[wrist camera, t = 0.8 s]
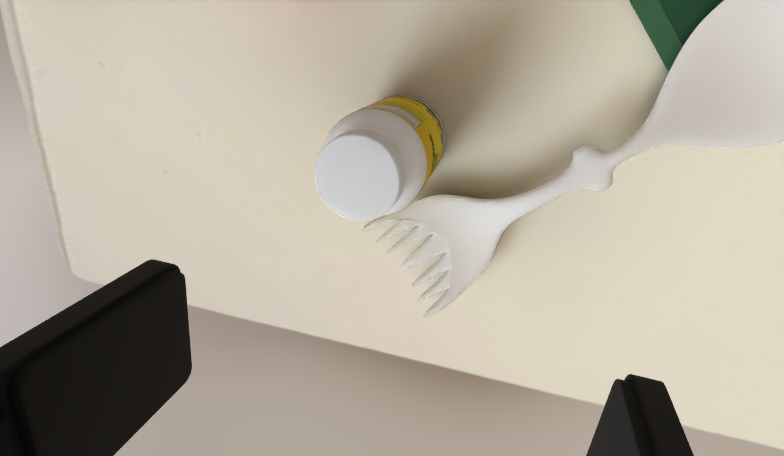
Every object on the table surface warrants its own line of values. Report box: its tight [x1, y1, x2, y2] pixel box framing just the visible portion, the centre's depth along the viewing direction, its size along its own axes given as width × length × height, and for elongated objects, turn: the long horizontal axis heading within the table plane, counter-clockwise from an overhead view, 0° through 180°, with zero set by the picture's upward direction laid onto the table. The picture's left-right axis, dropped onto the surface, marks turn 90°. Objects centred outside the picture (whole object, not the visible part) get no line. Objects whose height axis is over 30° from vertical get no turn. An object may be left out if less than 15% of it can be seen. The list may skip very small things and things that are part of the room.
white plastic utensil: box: [362, 0, 784, 318], centre depth 29 cm, size 9×32×4 cm, turn 126°
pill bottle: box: [314, 96, 445, 221], centre depth 29 cm, size 6×6×11 cm
